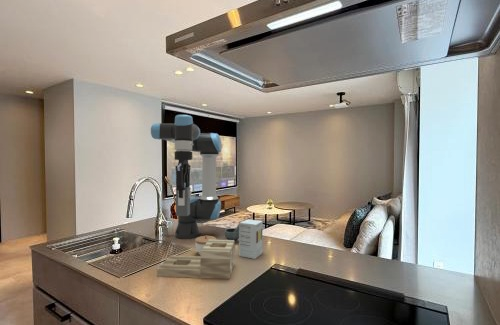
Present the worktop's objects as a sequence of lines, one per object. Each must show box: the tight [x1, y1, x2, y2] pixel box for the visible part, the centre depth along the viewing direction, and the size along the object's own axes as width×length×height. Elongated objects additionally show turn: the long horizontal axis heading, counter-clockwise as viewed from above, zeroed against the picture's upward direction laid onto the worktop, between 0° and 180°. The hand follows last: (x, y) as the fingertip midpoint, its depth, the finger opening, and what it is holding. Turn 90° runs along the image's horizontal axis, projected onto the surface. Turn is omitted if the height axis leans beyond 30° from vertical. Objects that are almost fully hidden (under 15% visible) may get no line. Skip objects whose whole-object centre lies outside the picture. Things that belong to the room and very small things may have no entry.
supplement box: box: [238, 219, 264, 260], centre depth 130 cm, size 10×9×17 cm
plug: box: [175, 183, 192, 217], centre depth 112 cm, size 4×6×14 cm
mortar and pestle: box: [224, 221, 241, 245], centre depth 150 cm, size 11×9×12 cm
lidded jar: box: [194, 235, 217, 256], centre depth 131 cm, size 11×11×9 cm
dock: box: [156, 239, 235, 280], centre depth 112 cm, size 15×30×11 cm, turn 87°
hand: (183, 204), depth 112 cm, fingers closed on plug, 4 cm apart
